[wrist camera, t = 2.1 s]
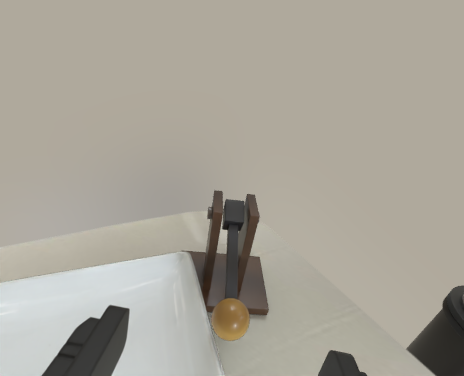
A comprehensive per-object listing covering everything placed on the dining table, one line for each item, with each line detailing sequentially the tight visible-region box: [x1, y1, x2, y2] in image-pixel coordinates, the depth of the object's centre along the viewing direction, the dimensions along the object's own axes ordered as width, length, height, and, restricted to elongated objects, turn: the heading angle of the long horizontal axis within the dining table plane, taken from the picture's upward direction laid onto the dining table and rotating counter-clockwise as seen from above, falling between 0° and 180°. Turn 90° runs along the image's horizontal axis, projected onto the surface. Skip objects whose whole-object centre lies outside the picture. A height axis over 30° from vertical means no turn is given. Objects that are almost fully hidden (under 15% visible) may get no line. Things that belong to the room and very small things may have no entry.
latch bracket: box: [183, 191, 269, 315], centre depth 33 cm, size 9×12×14 cm
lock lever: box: [211, 199, 250, 341], centre depth 28 cm, size 14×4×4 cm, turn 2°
